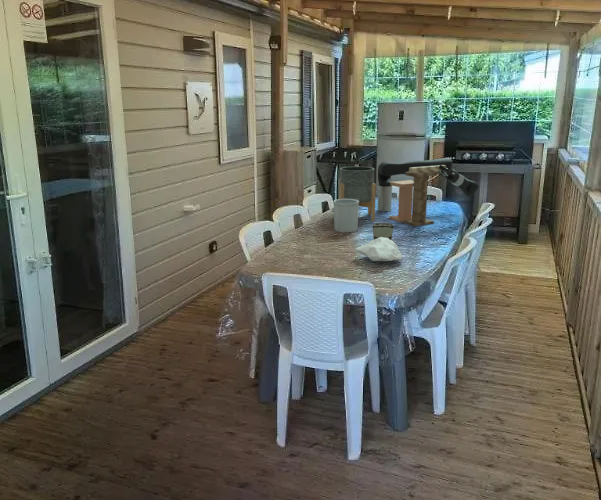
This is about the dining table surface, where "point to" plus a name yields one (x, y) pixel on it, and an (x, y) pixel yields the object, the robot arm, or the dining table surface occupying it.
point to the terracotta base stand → (404, 200)
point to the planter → (358, 187)
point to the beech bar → (425, 169)
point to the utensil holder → (346, 215)
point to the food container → (382, 230)
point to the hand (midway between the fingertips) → (437, 165)
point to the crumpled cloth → (380, 250)
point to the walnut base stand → (419, 199)
